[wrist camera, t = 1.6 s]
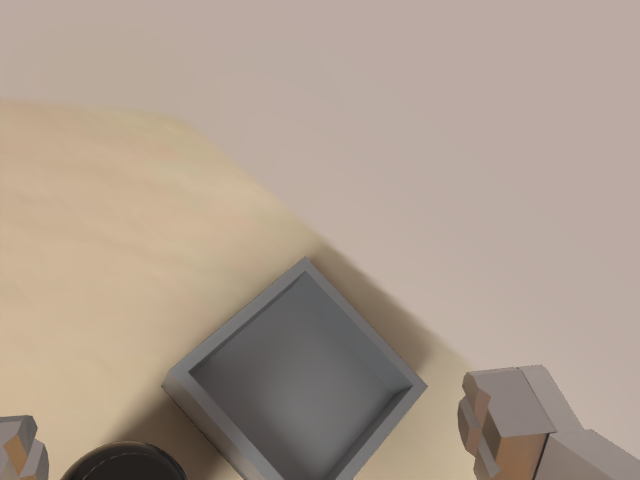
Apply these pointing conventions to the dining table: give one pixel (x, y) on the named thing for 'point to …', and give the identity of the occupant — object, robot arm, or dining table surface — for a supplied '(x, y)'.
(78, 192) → the dining table surface
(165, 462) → the supplement bottle
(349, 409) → the tray
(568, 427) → the robot arm
